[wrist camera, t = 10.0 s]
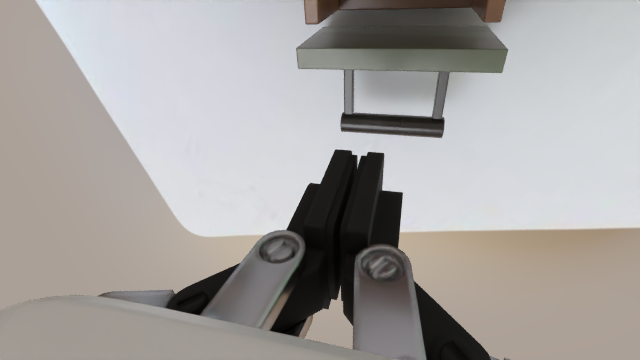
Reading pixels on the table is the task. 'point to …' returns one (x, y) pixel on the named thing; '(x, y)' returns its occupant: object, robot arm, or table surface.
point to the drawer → (401, 55)
